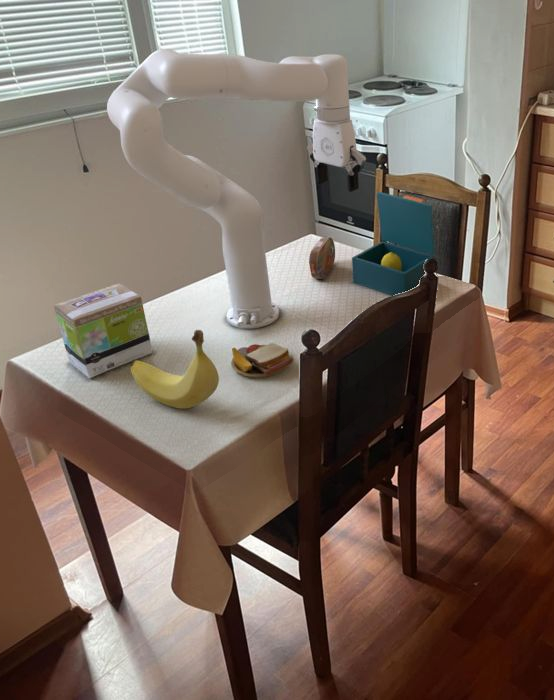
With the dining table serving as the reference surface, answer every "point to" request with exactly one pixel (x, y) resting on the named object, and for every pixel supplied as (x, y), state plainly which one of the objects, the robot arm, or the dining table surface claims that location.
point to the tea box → (103, 329)
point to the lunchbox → (386, 278)
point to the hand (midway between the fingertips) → (337, 186)
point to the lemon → (392, 261)
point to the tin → (322, 258)
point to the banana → (179, 380)
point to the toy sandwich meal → (260, 360)
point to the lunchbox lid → (406, 222)
